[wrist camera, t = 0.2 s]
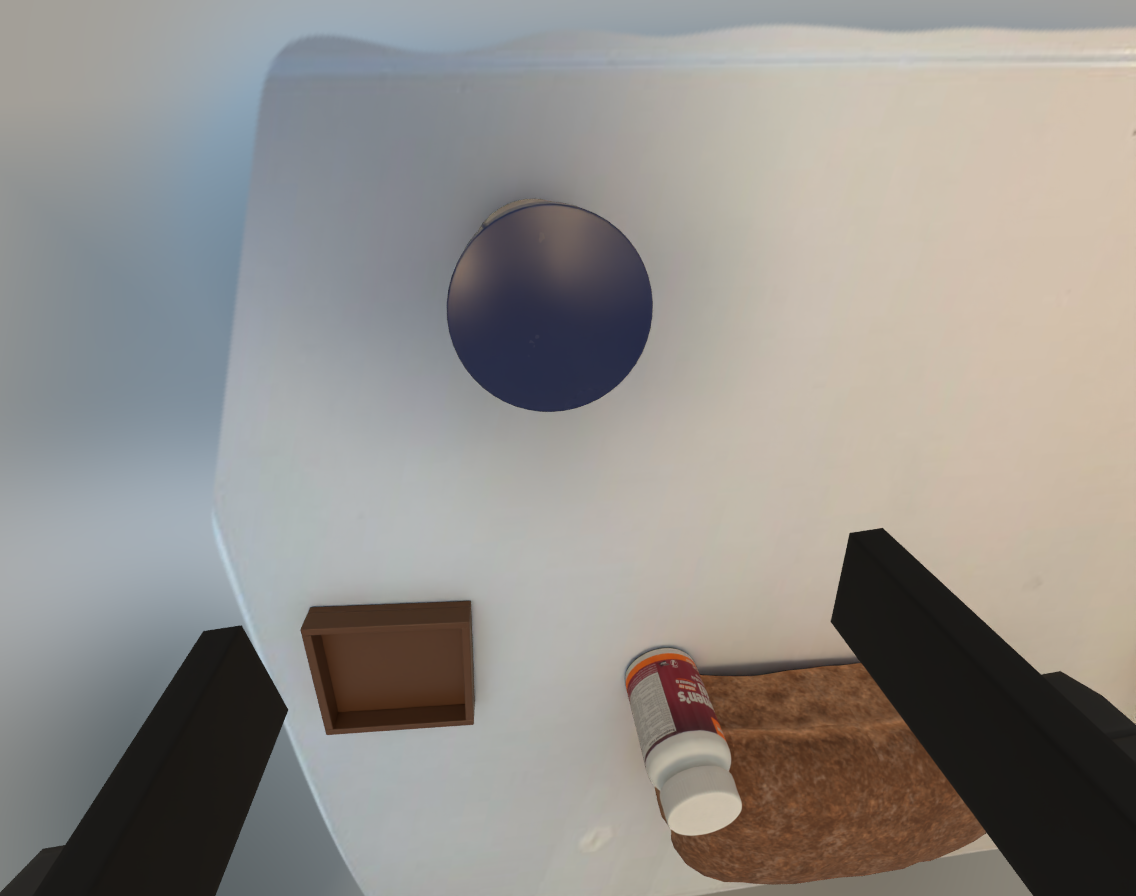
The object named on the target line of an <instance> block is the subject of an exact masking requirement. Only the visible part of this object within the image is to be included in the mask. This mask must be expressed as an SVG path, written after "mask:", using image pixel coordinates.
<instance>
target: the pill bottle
mask: <svg viewBox="0 0 1136 896" xmlns="http://www.w3.org/2000/svg"><path fill="white" fill-rule="evenodd" d="M625 683H626V688H627V693H628V697H629V701H630V705H631V709H632V714H633V718H634V722H635V726H636V730H637V734H638V738H639V742H640V746H641V750H642V754H643V758H644V762H645V767H646V769H647V773H648V776H649V778H650V780H651V782H652V783H653V785H654V786H655V787H656V788H657V789H658V790H660V801H661V804H662V807H663V810H664V814H665V817H666V821H667V824H668V826H669V827H670V829H671V830H673V831H674V832H676V833H678V834H681V835H689V836H693V835H702V834H708V833H711V832H714V831H717V830H719V829H721V828H723V827H725V826H727V825H729V824H730V823H731V822H733V821H734V820H735V819H736V818H737V817H738V815H739V814H740V812H741V809H742V802H741V799H740V796H739V794H738V791H737V788H736V785H735V782H734V779H733V777H732V775H731V773H730V772H729V769H730V765H731V754H730V750H729V747H728V745H727V742H726V739H725V737H724V734H723V732H722V729H721V727H720V724H719V721H718V719H717V716H716V714H715V711H714V709H713V706H712V704H711V702H710V699H709V696H708V694H707V691H706V689H705V686H704V684H703V682H702V680H701V677H700V675H699V672H698V670H697V667H696V665H695V663H694V661H693V659H692V658H691V657H690V656H689V655H688V654H686V653H685V652H683V651H680V650H677V649H672V648H662V649H657V650H653V651H650V652H647V653H645V654H644V655H642V656H640V657H639V658H637V659H636V660H635V661H634V662H633V663H632V664H631V665H630V667H629V668H628V670H627V672H626V677H625Z"/></svg>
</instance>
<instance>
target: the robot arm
mask: <svg viewBox="0 0 1136 896" xmlns="http://www.w3.org/2000/svg"><path fill="white" fill-rule="evenodd" d="M831 623H832V624H833V625H834V627H835V628H836V629H837V631H838V632H839V634H840V635H841V636H842V638H843V639H844V640H845V642H846V643H847V644H848V646H849V647H850V648H851V650H852V651H853V652H854V654H855V655H856V657H857V658H858V659H859V661H860V662H861V663H862V665H863V666H864V667H865V669H866V670H867V671H868V673H869V674H870V676H871V677H872V678H873V680H874V681H875V682H876V684H877V685H878V686H879V688H880V689H881V690H882V692H883V693H884V694H885V696H886V697H887V699H888V700H889V701H890V703H891V704H892V705H893V707H894V708H895V709H896V711H897V712H898V713H899V715H900V716H901V717H902V719H903V720H904V722H905V723H906V724H907V726H908V727H909V728H910V730H911V731H912V732H913V734H914V735H915V736H916V738H917V739H918V740H919V742H920V743H921V745H922V746H923V747H924V749H925V750H926V751H927V753H928V754H929V755H930V757H931V758H932V759H933V761H934V762H935V763H936V765H937V766H938V768H939V769H940V770H941V772H942V773H943V774H944V776H945V777H946V778H947V780H948V781H949V782H950V784H951V785H952V786H953V788H954V789H955V791H956V792H957V793H958V795H959V796H960V797H961V799H962V800H963V801H964V803H965V804H966V805H967V807H968V808H969V809H970V811H971V812H972V814H973V815H974V816H975V818H976V819H977V820H978V822H979V823H980V824H981V826H982V827H983V828H984V830H985V831H986V832H987V834H988V835H989V837H990V838H991V839H992V841H993V842H994V843H995V845H996V846H997V847H998V849H999V850H1000V851H1001V853H1002V854H1003V855H1004V857H1005V858H1006V860H1007V861H1008V862H1009V864H1010V865H1011V866H1012V867H1013V869H1014V870H1015V872H1016V873H1017V874H1018V876H1019V877H1020V878H1021V880H1022V881H1023V883H1024V884H1025V885H1026V887H1027V888H1028V889H1029V891H1030V892H1031V893H1032V895H1033V896H1136V725H1135V724H1134V723H1133V722H1132V721H1131V720H1130V719H1128V718H1127V717H1126V716H1125V715H1124V714H1123V713H1122V712H1120V711H1119V710H1118V709H1117V708H1116V707H1115V706H1113V705H1112V704H1111V703H1110V702H1109V701H1108V700H1107V699H1105V698H1104V697H1103V696H1102V695H1100V694H1098V693H1097V692H1095V691H1093V690H1092V689H1090V688H1088V687H1087V686H1085V685H1083V684H1081V683H1080V682H1078V681H1076V680H1075V679H1073V678H1071V677H1070V676H1068V675H1066V674H1064V673H1063V672H1061V671H1059V672H1053V673H1048V674H1042V675H1041V674H1040V673H1039V672H1038V671H1037V670H1035V669H1034V668H1033V667H1032V666H1031V665H1030V664H1029V663H1028V662H1027V661H1026V660H1025V659H1024V658H1022V657H1021V656H1020V655H1019V654H1018V653H1017V652H1016V651H1015V650H1014V649H1013V648H1012V647H1011V646H1010V645H1008V644H1007V643H1006V642H1005V641H1004V640H1003V639H1002V638H1001V637H1000V636H999V635H998V634H997V633H995V632H994V631H993V630H992V629H991V628H990V627H989V626H988V625H987V624H986V623H985V622H984V621H983V620H981V619H980V618H979V617H978V616H977V615H976V614H975V613H974V612H973V611H972V610H971V609H970V608H968V607H967V606H966V605H965V604H964V603H963V602H962V601H961V600H960V599H959V598H958V597H957V596H956V595H954V594H953V593H952V592H951V591H950V590H949V589H948V588H947V587H946V586H945V585H944V584H943V583H941V582H940V581H939V580H938V579H937V578H936V577H935V576H934V575H933V574H932V573H931V572H930V571H929V570H927V569H926V568H925V567H924V566H923V565H922V564H921V563H920V562H919V561H918V560H917V559H916V558H914V557H913V556H912V555H911V554H910V553H909V552H908V551H907V550H906V549H905V548H904V547H903V546H902V545H900V544H899V543H898V542H897V541H896V540H895V539H894V538H893V537H892V536H891V535H890V534H889V533H887V532H886V531H885V530H884V529H883V528H880V529H873V530H867V531H860V532H853V533H850V534H849V539H848V544H847V548H846V553H845V558H844V562H843V567H842V572H841V576H840V581H839V586H838V590H837V595H836V600H835V604H834V609H833V614H832V618H831ZM287 712H288V708H287V707H286V705H285V703H284V701H283V699H282V698H281V696H280V694H279V692H278V690H277V688H276V687H275V685H274V683H273V681H272V679H271V678H270V676H269V674H268V672H267V670H266V669H265V667H264V665H263V663H262V661H261V660H260V658H259V656H258V654H257V652H256V651H255V649H254V647H253V645H252V643H251V641H250V640H249V638H248V636H247V634H246V632H245V631H244V629H243V627H242V626H235V627H228V628H221V629H215V630H208V631H203V633H202V634H201V636H200V637H199V639H198V640H197V642H196V643H195V645H194V647H193V648H192V650H191V651H190V653H189V654H188V656H187V657H186V659H185V661H184V662H183V664H182V665H181V667H180V668H179V670H178V671H177V673H176V674H175V676H174V678H173V679H172V681H171V682H170V684H169V685H168V687H167V688H166V690H165V691H164V693H163V695H162V696H161V698H160V699H159V701H158V702H157V704H156V705H155V707H154V708H153V710H152V712H151V713H150V715H149V716H148V718H147V719H146V721H145V722H144V724H143V725H142V727H141V729H140V730H139V732H138V733H137V735H136V737H135V738H134V739H133V741H132V743H131V744H130V746H129V747H128V749H127V750H126V752H125V754H124V755H123V757H122V758H121V760H120V761H119V763H118V764H117V766H116V767H115V769H114V770H113V772H112V774H111V775H110V777H109V778H108V780H107V781H106V783H105V784H104V786H103V787H102V789H101V791H100V792H99V794H98V795H97V797H96V798H95V800H94V801H93V803H92V805H91V806H90V808H89V809H88V811H87V812H86V814H85V815H84V817H83V819H82V820H81V822H80V823H79V825H78V826H77V828H76V830H75V831H74V832H73V834H72V835H71V837H70V839H69V840H68V842H67V843H66V845H63V846H57V847H51V848H45V849H42V851H40V852H39V853H38V854H37V855H36V856H35V857H34V859H32V860H31V861H30V863H29V864H28V865H27V866H26V867H25V868H24V869H23V870H22V871H21V872H20V873H19V874H18V875H17V876H16V877H15V878H14V879H13V880H12V881H11V882H10V883H9V884H8V885H7V886H6V887H5V888H4V889H3V890H2V891H1V892H0V896H215V895H216V892H217V890H218V887H219V885H220V882H221V880H222V877H223V875H224V872H225V869H226V867H227V864H228V862H229V859H230V857H231V854H232V852H233V849H234V847H235V844H236V842H237V839H238V837H239V834H240V831H241V829H242V826H243V824H244V821H245V819H246V816H247V814H248V811H249V809H250V806H251V803H252V801H253V798H254V796H255V793H256V790H257V788H258V786H259V783H260V781H261V778H262V775H263V773H264V770H265V768H266V765H267V763H268V760H269V758H270V755H271V753H272V750H273V747H274V745H275V742H276V739H277V737H278V735H279V732H280V730H281V727H282V725H283V722H284V719H285V717H286V714H287Z"/></svg>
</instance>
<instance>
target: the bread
mask: <svg viewBox="0 0 1136 896" xmlns="http://www.w3.org/2000/svg"><path fill="white" fill-rule="evenodd" d="M700 677H701V680H702V682H703V684H704V686H705V689H706V691H707V694H708V696H709V699H710V702H711V704H712V706H713V709H714V711H715V714H716V716H717V719H718V721H719V724H720V727H721V729H722V732H723V734H724V737H725V739H726V742H727V745H728V747H729V750H730V754H731V765H730V769H729V772H730V773H731V775H732V777H733V779H734V782H735V785H736V788H737V791H738V794H739V796H740V799H741V802H742V809H741V812H740V814H739V815H738V817H737V818H736V819H735V820H734V821H733V822H731V823H730V824H729V825H727V826H725V827H723V828H721V829H719V830H717V831H714V832H711V833H708V834H702V835H693V836H689V835H681V834H678V833H676V832H674V831H673V830H671V840H672V843H673V846H674V848H675V849H676V851H677V852H678V853H679V855H680V856H681V858H682V859H683V860H684V862H685V863H686V864H687V865H688V866H690V867H692V868H693V869H695V870H696V871H698V872H699V873H701V874H702V875H704V876H707V877H710V878H713V879H717V880H720V881H723V882H745V883H755V884H797V883H804V882H810V881H817V880H825V879H831V878H839V877H853V876H865V875H870V874H876V873H881V872H887V871H893V870H898V869H904V868H906V867H908V866H910V865H913V864H916V863H918V862H924V861H931V860H934V859H936V858H939V857H941V856H943V855H946V854H948V853H950V852H953V851H955V850H957V849H960V848H962V847H964V846H966V845H968V844H969V843H971V842H973V841H975V840H977V839H978V838H980V837H981V836H983V835H984V834H986V831H985V830H984V828H983V827H982V826H981V824H980V823H979V822H978V820H977V819H976V818H975V816H974V815H973V814H972V812H971V811H970V809H969V808H968V807H967V805H966V804H965V803H964V801H963V800H962V799H961V797H960V796H959V795H958V793H957V792H956V791H955V789H954V788H953V786H952V785H951V784H950V782H949V781H948V780H947V778H946V777H945V776H944V774H943V773H942V772H941V770H940V769H939V768H938V766H937V765H936V763H935V762H934V761H933V759H932V758H931V757H930V755H929V754H928V753H927V751H926V750H925V749H924V747H923V746H922V745H921V743H920V742H919V740H918V739H917V738H916V736H915V735H914V734H913V732H912V731H911V730H910V728H909V727H908V726H907V724H906V723H905V722H904V720H903V719H902V717H901V716H900V715H899V713H898V712H897V711H896V709H895V708H894V707H893V705H892V704H891V703H890V701H889V700H888V699H887V697H886V696H885V694H884V693H883V692H882V690H881V689H880V688H879V686H878V685H877V684H876V682H875V681H874V680H873V678H872V677H871V676H870V674H869V673H868V671H867V670H866V669H865V667H864V666H863V665H862V663H857V664H849V665H840V666H823V667H816V668H809V669H799V670H788V671H783V672H777V673H772V674H764V675H757V676H706V675H700ZM655 791H656V796H657V801H658V805H659V808H660V812H661V815H662V818H663V819H664V820H665V822H666V823H667V821H666V817H665V814H664V810H663V807H662V804H661V801H660V790H658V789H657V788H656V787H655Z"/></svg>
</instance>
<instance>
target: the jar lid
mask: <svg viewBox="0 0 1136 896" xmlns="http://www.w3.org/2000/svg"><path fill="white" fill-rule="evenodd" d="M652 309H653V301H652V291H651V286H650V281H649V277H648V274H647V271H646V269H645V266H644V264H643V262H642V260H641V258H640V256H639V254H638V252H637V251H636V249H635V248H634V246H633V245H632V244H631V242H630V241H629V240H628V239H627V238H626V236H625V235H624V234H623V233H622V232H621V231H620V230H619V229H617V228H616V227H615V226H614V225H612V224H611V223H610V222H608V221H607V220H605V219H604V218H602V217H600V216H598V215H597V214H595V213H592V212H590V211H587V210H585V209H582V208H580V207H577V206H574V205H570V204H566V203H561V202H550V201H544V202H532V203H527V204H523V205H519V206H516V207H514V208H511V209H508V210H506V211H504V212H503V213H501V214H499V215H497V216H495V217H494V218H493V219H491V220H490V221H489V222H487V223H486V222H483V223H482V228H481V229H480V230H479V231H478V232H477V233H476V234H475V235H474V236H473V238H472V239H471V240H470V241H469V243H468V244H467V246H466V247H465V249H464V251H463V253H462V255H461V256H460V258H459V260H458V262H457V265H456V267H455V270H454V272H453V275H452V278H451V282H450V286H449V290H448V298H447V321H448V327H449V333H450V336H451V339H452V343H453V346H454V348H455V350H456V352H457V355H458V357H459V359H460V360H461V362H462V364H463V365H464V367H465V369H466V370H467V371H468V372H469V374H470V375H471V376H472V377H473V379H474V380H475V381H477V382H478V383H479V384H480V385H481V386H482V387H483V388H484V389H485V390H487V391H488V392H489V393H491V394H492V395H493V396H495V397H497V398H499V399H501V400H502V401H504V402H506V403H509V404H511V405H514V406H516V407H520V408H524V409H527V410H534V411H542V412H555V411H565V410H569V409H574V408H578V407H581V406H584V405H586V404H589V403H591V402H593V401H595V400H597V399H599V398H601V397H602V396H604V395H605V394H607V393H608V392H610V391H611V390H612V389H614V388H615V387H616V386H617V385H618V384H619V383H620V382H621V381H622V380H623V379H624V378H625V377H626V376H627V375H628V374H629V372H630V371H631V370H632V368H633V367H634V366H635V364H636V363H637V361H638V359H639V357H640V356H641V354H642V352H643V349H644V347H645V345H646V342H647V339H648V335H649V332H650V328H651V321H652Z"/></svg>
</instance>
